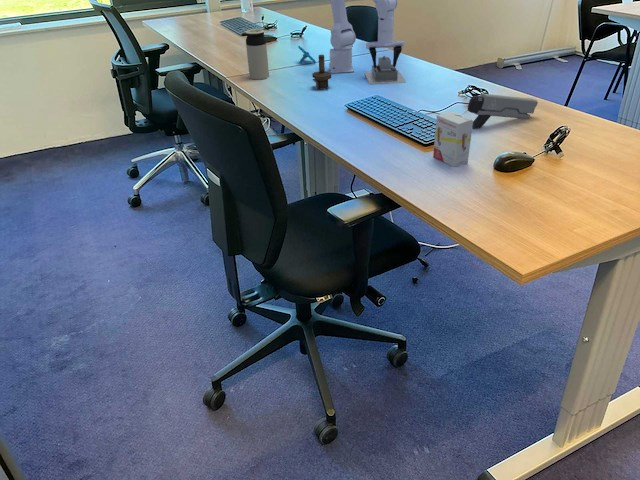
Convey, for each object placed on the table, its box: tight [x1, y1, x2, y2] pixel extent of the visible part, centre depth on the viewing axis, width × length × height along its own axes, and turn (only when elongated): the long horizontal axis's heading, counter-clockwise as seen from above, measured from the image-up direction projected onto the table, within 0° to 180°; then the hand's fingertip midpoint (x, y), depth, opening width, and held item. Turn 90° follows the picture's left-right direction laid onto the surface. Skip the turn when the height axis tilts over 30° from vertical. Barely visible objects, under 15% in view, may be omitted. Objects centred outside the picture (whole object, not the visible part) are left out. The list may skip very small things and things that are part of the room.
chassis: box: [363, 64, 406, 85], centre depth 204 cm, size 14×16×4 cm
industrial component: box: [311, 54, 332, 90], centre depth 193 cm, size 9×7×12 cm
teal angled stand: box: [297, 45, 317, 64], centre depth 228 cm, size 11×6×10 cm
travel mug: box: [245, 28, 270, 80], centre depth 207 cm, size 8×8×18 cm
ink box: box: [432, 110, 474, 168], centre depth 133 cm, size 9×5×12 cm, turn 31°
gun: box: [467, 93, 538, 130], centre depth 156 cm, size 2×25×10 cm, turn 112°
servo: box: [377, 55, 392, 72], centre depth 202 cm, size 4×10×7 cm, turn 3°
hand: (384, 66), depth 202 cm, fingers open, 7 cm apart
